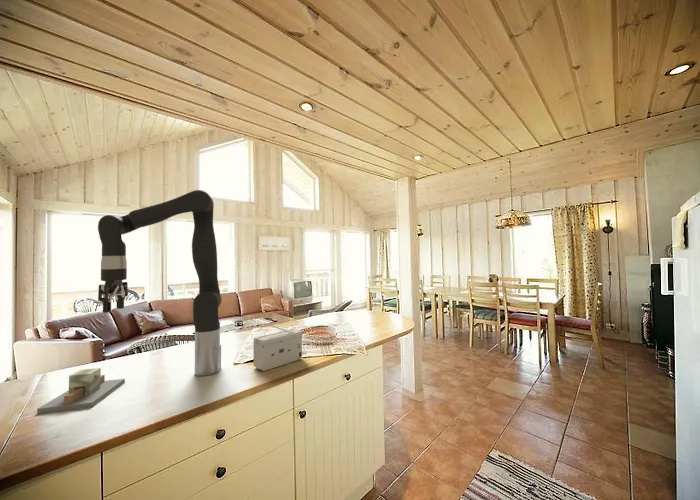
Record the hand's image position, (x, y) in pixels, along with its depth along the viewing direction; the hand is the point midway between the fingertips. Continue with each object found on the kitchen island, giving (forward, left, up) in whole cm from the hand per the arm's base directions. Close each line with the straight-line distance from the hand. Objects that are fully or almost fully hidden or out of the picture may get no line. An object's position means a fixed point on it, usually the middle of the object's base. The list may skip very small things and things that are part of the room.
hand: (113, 310), depth 104 cm
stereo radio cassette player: (-61, -3, -28) cm, 67 cm away
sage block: (+3, +10, -26) cm, 28 cm away
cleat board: (+3, +9, -27) cm, 29 cm away
